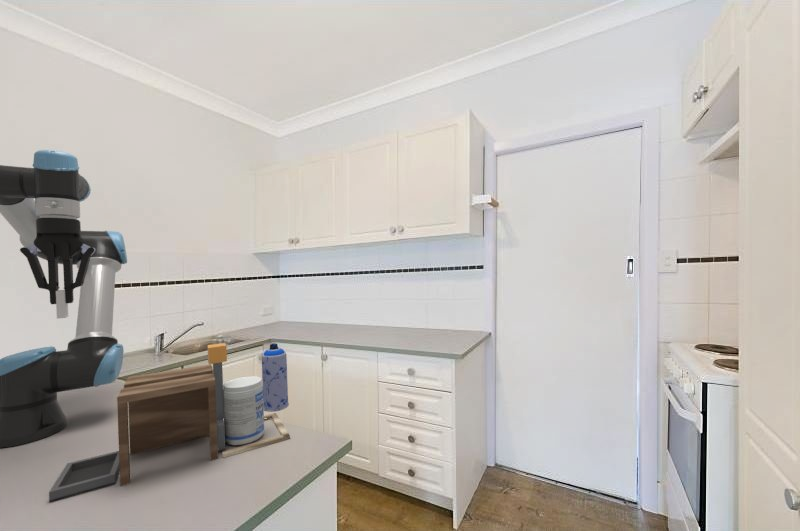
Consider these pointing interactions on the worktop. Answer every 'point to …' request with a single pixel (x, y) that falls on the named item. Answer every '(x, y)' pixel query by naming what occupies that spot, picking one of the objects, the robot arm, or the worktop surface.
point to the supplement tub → (243, 410)
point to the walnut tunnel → (166, 412)
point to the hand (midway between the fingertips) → (62, 317)
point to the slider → (218, 387)
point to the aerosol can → (274, 379)
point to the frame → (262, 443)
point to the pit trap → (86, 476)
